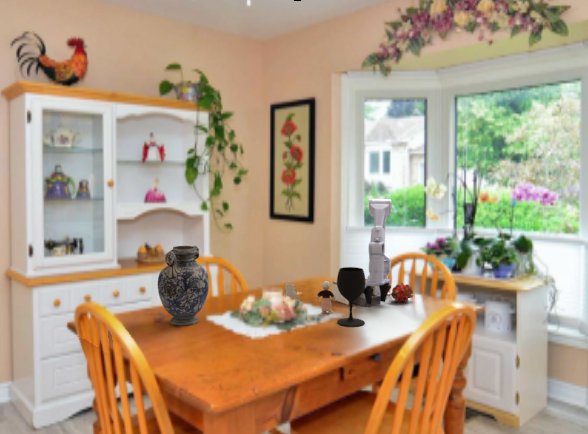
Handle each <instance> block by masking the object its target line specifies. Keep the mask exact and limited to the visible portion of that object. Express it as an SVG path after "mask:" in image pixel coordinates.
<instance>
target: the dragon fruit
mask: <svg viewBox="0 0 588 434" xmlns="http://www.w3.org/2000/svg"><path fill="white" fill-rule="evenodd" d="M391 289H392V290H391V292H390V293H391V294H390V296H391V297H392V299H394V303H400V302H403V303H406V302H408V301H409V299H412V298H413V297H414V295H412V294H413V293H414V291H413V290H412V286H410V285H409V284H404V283H403V282H401V284H398V283H397V284H396V285H395V286H394V287H392V288H391Z"/></svg>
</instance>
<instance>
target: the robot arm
mask: <svg viewBox="0 0 588 434" xmlns="http://www.w3.org/2000/svg"><path fill="white" fill-rule="evenodd" d="M368 212H369V215H370V217H372V218H373V219H374V220H373V222H374V224H373V227H372V228H371V230H370V232H371V233H370V242H369V243H368V259H369V260H368V276H367V278H366V279H368V280H369V281H366V284H365V289H364V291H363V292H364V295H365V298H366V302H367V304H369V305H371V303H372V293H373V290H374V289H372V288H371V286H377V295H379V296H380V299H381V302H382V303H385V302H386V301H387V298H388V295H389V296H391V293H392V292H390V290H391V289H392V279H390V278H389V277H388V276H389V275H390V274H391V272H392V261H391V257H390V255H388V254H386V221H387V219H388V218H390V217H391V215H392V199H390V198H389V199H388V198H387V199H385V198H370V199H369V200H368Z"/></svg>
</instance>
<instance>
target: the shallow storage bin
mask: <svg viewBox="0 0 588 434" xmlns="http://www.w3.org/2000/svg"><path fill="white" fill-rule="evenodd" d="M365 281H369V280H368V279H367V278H365ZM371 288H372V289H374V290H373V293H372V294H375V295H377V286H371ZM331 292H332V293H333V295H334V297H335V299H336V300H335V302H339V303H342V304H345V305H349V301H348V300H347V299H345V298H344V297H343V296H342V295H341V294H340V292H339V290H338V287H337V280H332V289H331Z"/></svg>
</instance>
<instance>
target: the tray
mask: <svg viewBox="0 0 588 434" xmlns="http://www.w3.org/2000/svg"><path fill="white" fill-rule="evenodd" d="M381 302H382V301H381V299H380V296H379V295H375V294H372V303H371V305H369V304H367V302H366V298H365V295H364V292H363V293H362V294H361V296H360V297H359V298H357V299H356V300H355V301H353V304H357V305H360V306H363V307H366V308H367V307H372V306H379V305H381Z"/></svg>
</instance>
